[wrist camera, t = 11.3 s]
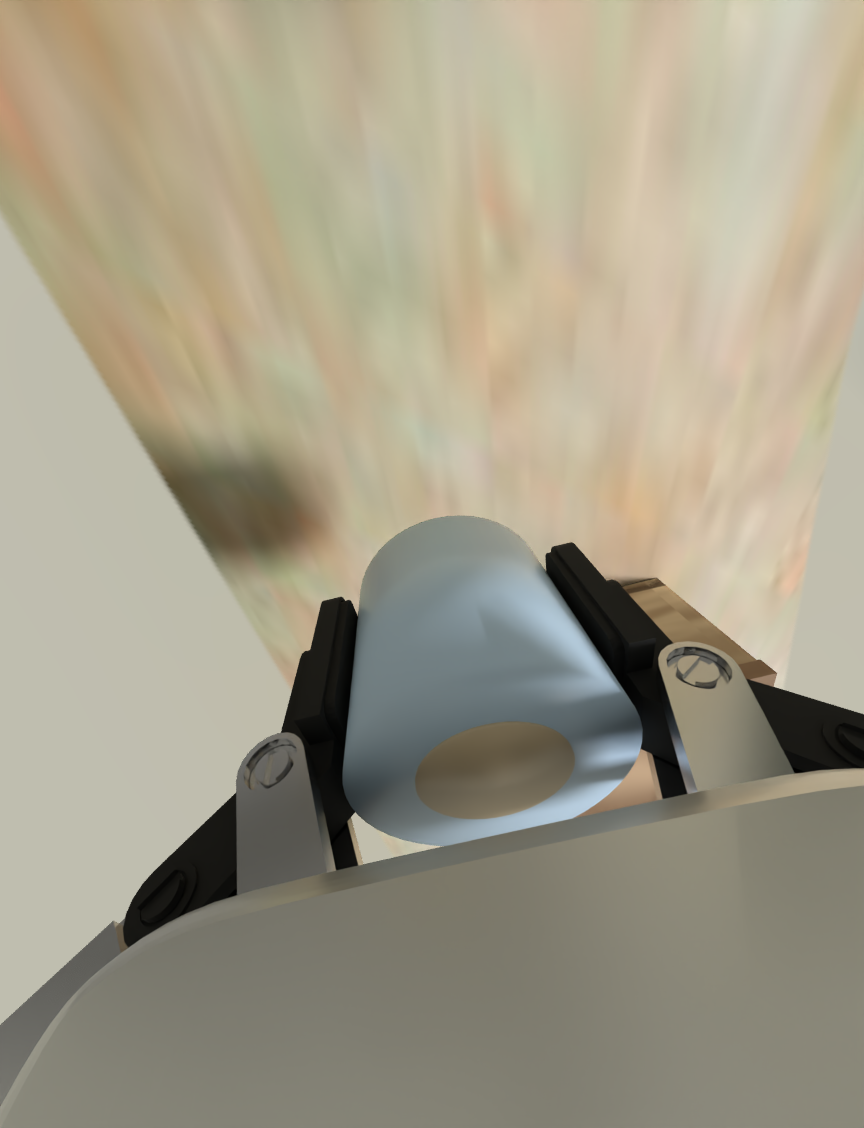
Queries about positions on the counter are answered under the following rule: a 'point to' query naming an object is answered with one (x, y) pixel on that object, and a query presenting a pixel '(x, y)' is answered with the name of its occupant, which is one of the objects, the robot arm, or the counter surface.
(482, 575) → the pale blue rounded block
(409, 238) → the counter surface
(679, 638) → the crate
